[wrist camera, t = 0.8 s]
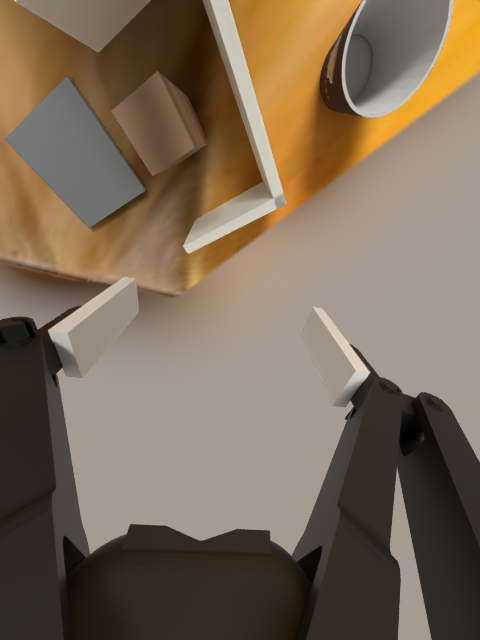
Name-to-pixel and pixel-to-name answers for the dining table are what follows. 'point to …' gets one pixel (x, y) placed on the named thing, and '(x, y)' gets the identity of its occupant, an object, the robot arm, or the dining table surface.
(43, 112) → the coaster
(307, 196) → the dining table surface
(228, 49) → the cubby
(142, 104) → the walnut block
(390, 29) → the coffee mug
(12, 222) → the dining table surface
